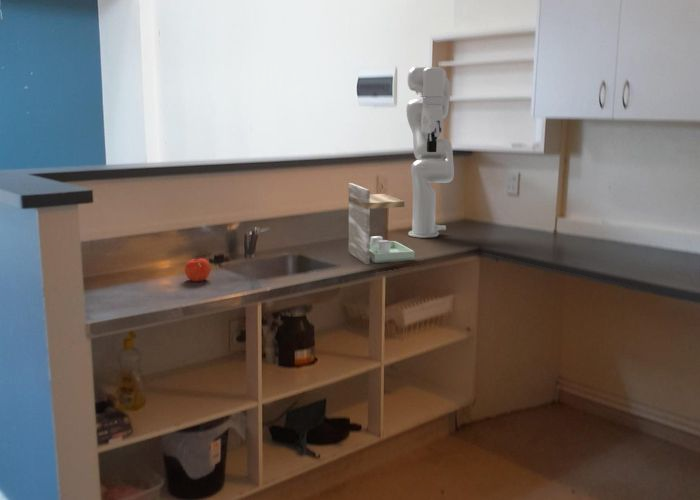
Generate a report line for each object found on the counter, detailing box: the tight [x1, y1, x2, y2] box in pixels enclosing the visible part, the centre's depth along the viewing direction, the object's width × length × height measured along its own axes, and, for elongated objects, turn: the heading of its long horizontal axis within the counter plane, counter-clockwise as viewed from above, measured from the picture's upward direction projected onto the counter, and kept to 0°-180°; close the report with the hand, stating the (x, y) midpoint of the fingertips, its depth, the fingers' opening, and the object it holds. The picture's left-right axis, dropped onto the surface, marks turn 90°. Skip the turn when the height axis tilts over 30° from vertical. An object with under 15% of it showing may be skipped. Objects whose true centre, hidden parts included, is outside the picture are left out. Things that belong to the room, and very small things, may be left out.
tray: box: [369, 240, 415, 264], centre depth 260 cm, size 15×19×3 cm
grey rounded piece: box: [370, 235, 384, 253], centre depth 262 cm, size 4×4×6 cm
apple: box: [184, 255, 212, 282], centre depth 226 cm, size 8×8×8 cm
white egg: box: [378, 239, 391, 253], centre depth 255 cm, size 4×4×6 cm
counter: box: [348, 182, 405, 265], centre depth 256 cm, size 14×20×26 cm
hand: (431, 151), depth 266 cm, fingers closed
